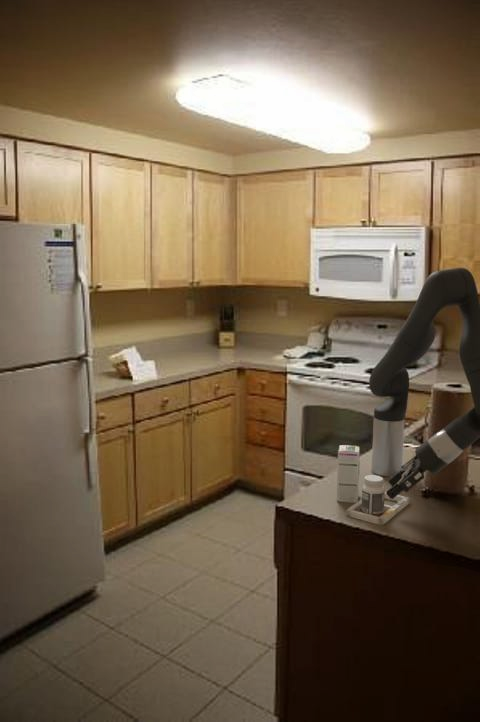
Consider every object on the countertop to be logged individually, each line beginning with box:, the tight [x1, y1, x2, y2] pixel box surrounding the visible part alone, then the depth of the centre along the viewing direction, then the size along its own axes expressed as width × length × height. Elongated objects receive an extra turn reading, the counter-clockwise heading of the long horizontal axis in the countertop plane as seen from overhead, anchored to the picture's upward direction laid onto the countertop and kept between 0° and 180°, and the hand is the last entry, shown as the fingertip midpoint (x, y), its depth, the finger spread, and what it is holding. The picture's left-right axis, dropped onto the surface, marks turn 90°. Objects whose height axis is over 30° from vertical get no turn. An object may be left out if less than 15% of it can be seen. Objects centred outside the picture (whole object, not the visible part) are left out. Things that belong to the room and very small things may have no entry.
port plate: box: [345, 491, 410, 526], centre depth 166 cm, size 18×10×2 cm, turn 144°
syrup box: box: [336, 444, 361, 504], centre depth 172 cm, size 6×6×14 cm
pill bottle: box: [360, 474, 386, 517], centre depth 162 cm, size 6×6×10 cm
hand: (389, 489), depth 161 cm, fingers open, 8 cm apart
